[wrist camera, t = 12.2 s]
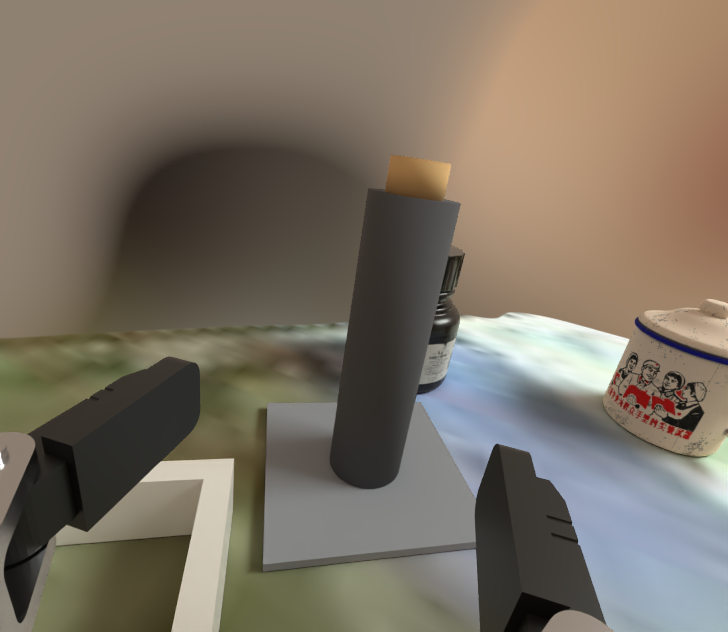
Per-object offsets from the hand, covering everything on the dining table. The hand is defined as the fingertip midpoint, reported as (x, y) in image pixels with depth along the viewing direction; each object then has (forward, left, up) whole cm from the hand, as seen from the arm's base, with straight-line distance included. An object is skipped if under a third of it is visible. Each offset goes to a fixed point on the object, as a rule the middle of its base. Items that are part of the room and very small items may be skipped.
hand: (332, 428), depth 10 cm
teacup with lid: (-33, -12, -11) cm, 37 cm away
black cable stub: (-5, -10, -11) cm, 15 cm away
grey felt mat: (-5, -10, -11) cm, 16 cm away
